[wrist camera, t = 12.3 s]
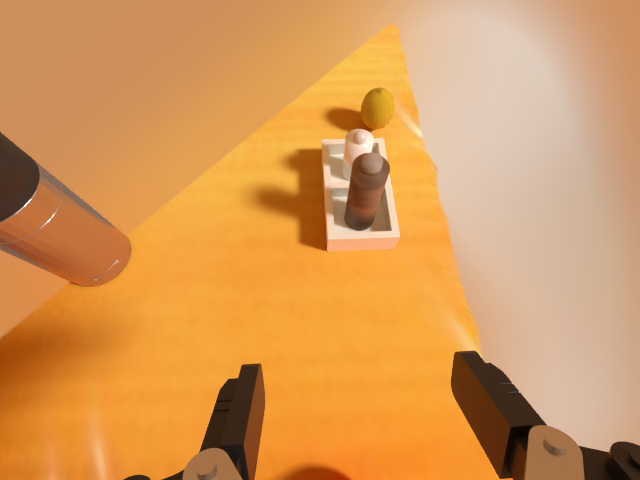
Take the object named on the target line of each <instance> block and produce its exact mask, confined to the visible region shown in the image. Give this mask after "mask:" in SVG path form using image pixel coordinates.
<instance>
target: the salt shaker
mask: <svg viewBox="0 0 640 480" xmlns="http://www.w3.org/2000/svg"><path fill="white" fill-rule="evenodd" d="M373 143H374V138H373V136H372V134H371V133H370V132H368V131H367V130H364V129H354V130H351V131H350V132H348V134H347V135H346V139H345V147H344V156H343V164H342V175H343V177H344V178H345V179H346V180H348V181H350V177H351V171H352V164H353V161H354V160H355V158H356V157H358V156H359V155H361V154H364V153H371V151H372V147H373Z"/></svg>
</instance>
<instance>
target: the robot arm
mask: <svg viewBox="0 0 640 480" xmlns="http://www.w3.org/2000/svg"><path fill="white" fill-rule="evenodd" d="M0 250H3V251H5V252H7V253H9V254H11V255H14V256H16V257H18V258H20V259H22V260H25V261H27V262H29V263H31V264H33V265H36V266H38V267H40V268H42V269H44V270H47V271H49V272H51V273H53V274H55V275H57V276H59V277H62V278H64V279H66V280H68V281H71V282H73V283H75V284H78V285H80V286H86V287H90V286H97V285H101V284H103V283H106V282H108V281H110V280H111V279H113V278H114V277H116V276H117V275H118V274H119V273H120V272H121V271H122V270H123V268H124V267H125V266H126V264H127V262H128V260H129V257H130V252H131V246H130V242H129V240H128V238H127V237H126V236H125V235H124V234H123V233H122V232H121V231H120V230H118V229H117V228H116V227H115V226H114V225H112V224H111V223H110V222H109V221H108V220H107V219H105V218H104V217H103V216H102V215H100V214H99V213H98V212H97V211H95V210H94V209H93V208H92V207H91V206H90V205H88V204H87V203H86V202H85V201H83V200H82V199H81V198H80V197H78V196H77V195H76V194H75V193H74V192H72V191H71V190H70V189H69V188H68V187H66V186H65V185H64V184H63V183H62V182H60V181H59V180H58V179H57V178H56V177H54V176H53V175H52V174H50V173H49V172H48V171H47V170H46V169H44V168H43V167H42V166H41V165H40V164H38V163H37V162H36V161H35V160H33V159H32V158H31V157H30V156H29V155H27V154H26V153H25V152H24V151H22V150H21V149H20V148H19V147H17V146H16V145H15V144H14V143H13V142H12V141H10V140H9V139H8V138H7V137H6V136H4V135H3V134H2V133H1V132H0ZM451 388H452V392H453V395H454V397H455V399H456V401H457V403H458V405H459V406H460V408H461V410H462V412H463V414H464V415H465V417H466V419H467V421H468V423H469V424H470V426H471V428H472V430H473V432H474V433H475V435H476V437H477V439H478V441H479V442H480V444H481V446H482V448H483V449H484V451H485V453H486V455H487V457H488V458H489V460H490V462H491V464H492V466H493V467H494V469H495V471H496V473H497V475H498V476H499V478H500V479H505V478H513V480H640V446H639V445H636V444H633V443H629V442H616V443H614V444H613V445H612V446H611V449H610V451H609V452H604V451H600V450H595V449H590V448H585V447H581V446H578V445H577V444H576V442H575V441H574V440H573V439H571V438H570V437H569V436H568V435H567V434H565V433H564V432H562V431H560V430H558V429H556V428H553V427H550V426H547V425H546V424H545V422H544V421H543V420H542V419H541V417H540V416H539V415H538V414H537V413H536V411H535V410H534V409H533V408H532V406H531V405H530V404H529V403H528V402H527V400H526V399H525V398H524V397H523V396H522V394H521V393H519V391H518V389H517V388H516V387H515V386H514V385H513V384H512V382H511V381H510V380H509V378H508V377H507V376H506V375H505V374H504V373H503V372H502V371H501V370H500V369H498V368H497V367H496V366H494V365H493V364H491V363H485V362H484V361H483V360H482V358H481V357H480V356H479V354H478V353H477V352H476V351H461V352H455V354H454V360H453V368H452V377H451ZM264 410H265V390H264V382H263V374H262V366H261V364H260V363H259V364H243V365H242V366H241V370H240V374H239V377H238V378H236V379H228V380H227V382H226V383H225V384H224V385H223V386H222V388H221V389H220V391H219V394H218V397H217V401H216V404H215V407H214V410H213V413H212V416H211V419H210V422H209V425H208V428H207V431H206V434H205V437H204V440H203V443H202V446H201V449H200V451H199V453H198V454H197V455H195V456H194V457H193V458H192V459H191V460H190V461H189V463H188V464H187V466H186V468H185V469H184V470H183V471H181V472H179V473H177V474H175V475H173V476H170V477H168V478H165V479H162V480H254V479H255V472H256V465H257V458H258V451H259V444H260V437H261V431H262V424H263V417H264ZM124 480H150V478H148V477H147V476H144V475H134V476H131V477H128V478H126V479H124Z"/></svg>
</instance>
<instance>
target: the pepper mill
mask: <svg viewBox="0 0 640 480" xmlns="http://www.w3.org/2000/svg"><path fill="white" fill-rule="evenodd" d="M389 172H390V166H389V163H388V162H387V160H386V159H385V158H384V157H382V156H381V155H379V154H377V153H364V154H361V155H359V156H358V157H356V158H355V160H354V161H353V164H352V171H351V177H350V184H349V190H348V197H347V203H346V209H345V216H344V219H345V223H346V224H347V226H348V227H350V228H351V229H353V230H356V231H364V230H366V229H368V228H370V227H371V225H372V223H373V221H374V218H375V215H376V212H377V208H378V205H379V202H380V199H381V196H382V193H383V190H384V187H385V184H386V181H387V178H388V175H389Z"/></svg>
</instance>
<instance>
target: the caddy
mask: <svg viewBox="0 0 640 480" xmlns="http://www.w3.org/2000/svg"><path fill="white" fill-rule="evenodd" d="M344 147H345V139H328V140H322V169H323V187H324V204H325V222H326V239H327V251H352V250H379V249H394V248H395V246H396V244H397V242H398V240H399V238H400V233H399V227H398V221H397V215H396V209H395V203H394V197H393V191H392V185H391V180H390V174H389V175H388V178H387V181H386V184H385V187H384V190H383V193H382V196H381V199H380V202H379V205H378V208H377V212H376V215H375V218H374V221H373V223H372V225H371V227H370V228H368V229H366V230H364V231H356V230H353V229H351V228H350V227H348V226H347V224H346V223H345V219H344V216H345V209H346V203H347V197H348V190H349V184H350V181H348V180H346V179H345V178H344V177H343V175H342V164H343V156H344ZM371 153H377V154H379V155H381V156H382V157H384V158H385V159H386V160H387V156H386V150H385V144H384V138H374V143H373V147H372V151H371Z"/></svg>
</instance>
